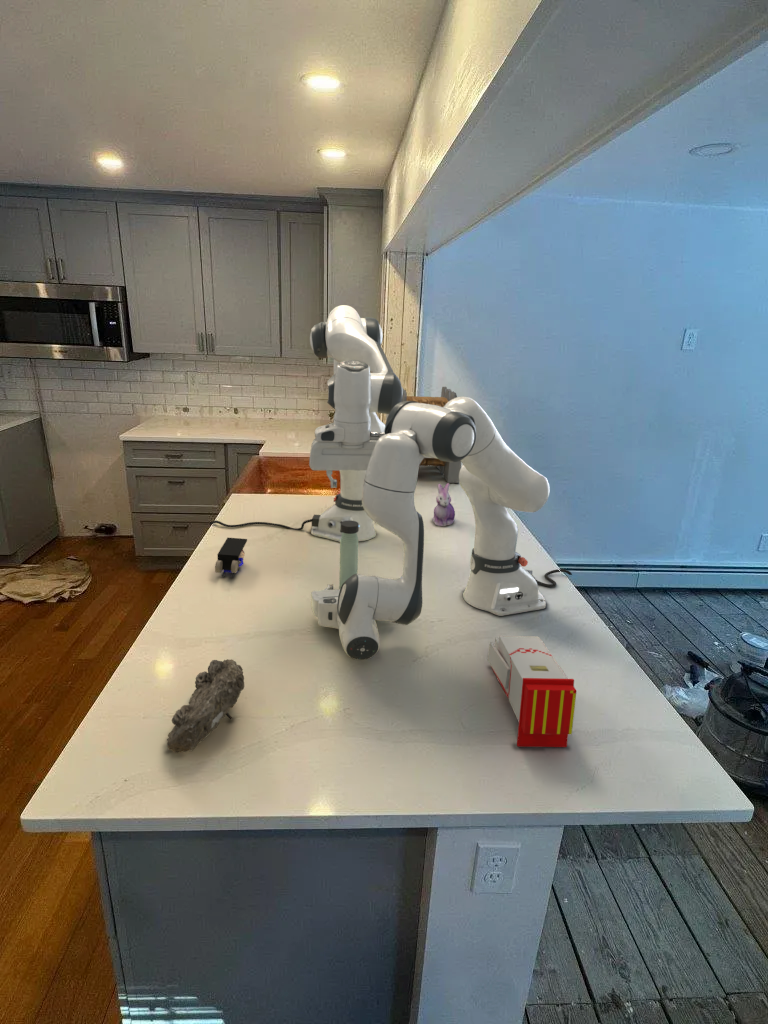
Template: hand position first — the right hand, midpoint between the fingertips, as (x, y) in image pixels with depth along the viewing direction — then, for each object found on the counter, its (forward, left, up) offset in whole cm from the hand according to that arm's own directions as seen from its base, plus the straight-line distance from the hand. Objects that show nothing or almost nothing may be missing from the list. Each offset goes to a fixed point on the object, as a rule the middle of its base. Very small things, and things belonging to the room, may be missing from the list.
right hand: (348, 586), depth 150 cm
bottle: (0, +1, -5) cm, 5 cm away
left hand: (0, +1, +28) cm, 28 cm away
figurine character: (+32, -23, -5) cm, 40 cm away
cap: (0, +1, +18) cm, 18 cm away
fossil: (+30, +41, -5) cm, 51 cm away
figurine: (-42, -58, -5) cm, 72 cm away
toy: (-32, +43, -5) cm, 54 cm away
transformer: (-48, -125, -5) cm, 134 cm away
